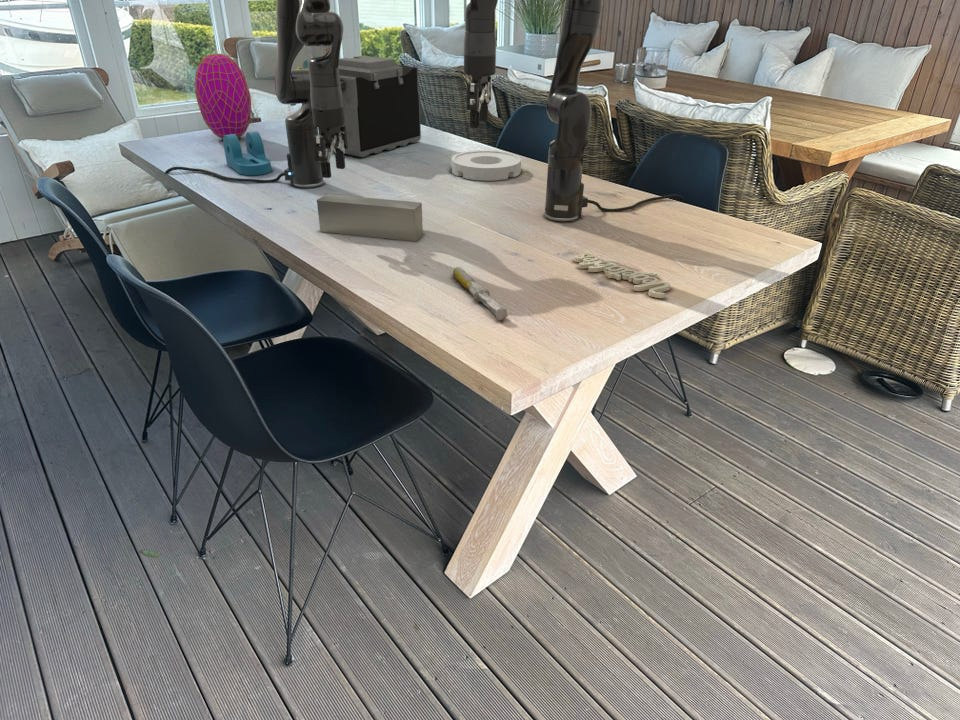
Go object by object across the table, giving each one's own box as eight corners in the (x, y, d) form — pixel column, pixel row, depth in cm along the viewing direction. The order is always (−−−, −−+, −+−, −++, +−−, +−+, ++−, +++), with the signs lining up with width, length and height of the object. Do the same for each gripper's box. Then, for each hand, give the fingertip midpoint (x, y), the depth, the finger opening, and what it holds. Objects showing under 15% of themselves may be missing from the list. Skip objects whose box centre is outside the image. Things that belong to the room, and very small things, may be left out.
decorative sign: (686, 282, 150) (660, 295, 144) (686, 286, 150) (659, 300, 144) (592, 249, 166) (565, 259, 160) (592, 253, 167) (565, 263, 161)
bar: (320, 231, 178) (316, 199, 174) (329, 224, 183) (325, 193, 178) (416, 241, 173) (414, 209, 168) (422, 234, 177) (421, 202, 173)
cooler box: (383, 133, 276) (378, 52, 261) (425, 141, 265) (422, 56, 250) (314, 150, 251) (304, 61, 235) (358, 160, 240) (350, 67, 224)
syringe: (449, 274, 155) (449, 263, 153) (465, 272, 156) (464, 260, 154) (490, 323, 135) (491, 310, 133) (508, 319, 136) (508, 307, 134)
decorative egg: (221, 147, 254) (205, 59, 239) (195, 138, 265) (178, 54, 250) (266, 138, 266) (254, 54, 251) (239, 130, 277) (226, 49, 262)
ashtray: (453, 161, 240) (453, 149, 238) (520, 162, 239) (520, 150, 237) (449, 179, 220) (449, 167, 218) (521, 181, 219) (522, 168, 217)
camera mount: (227, 164, 233) (221, 132, 227) (257, 160, 238) (252, 129, 233) (244, 176, 220) (239, 143, 215) (276, 172, 225) (271, 139, 220)
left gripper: (325, 99, 171) (331, 164, 179) (299, 109, 159) (307, 179, 167) (353, 100, 169) (358, 166, 178) (329, 111, 157) (336, 181, 166)
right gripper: (488, 56, 154) (487, 131, 162) (502, 49, 166) (500, 119, 174) (456, 55, 155) (456, 129, 164) (472, 48, 167) (471, 117, 175)
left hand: (333, 172), depth 172 cm, fingers open, 8 cm apart
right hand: (479, 124), depth 169 cm, fingers open, 8 cm apart
